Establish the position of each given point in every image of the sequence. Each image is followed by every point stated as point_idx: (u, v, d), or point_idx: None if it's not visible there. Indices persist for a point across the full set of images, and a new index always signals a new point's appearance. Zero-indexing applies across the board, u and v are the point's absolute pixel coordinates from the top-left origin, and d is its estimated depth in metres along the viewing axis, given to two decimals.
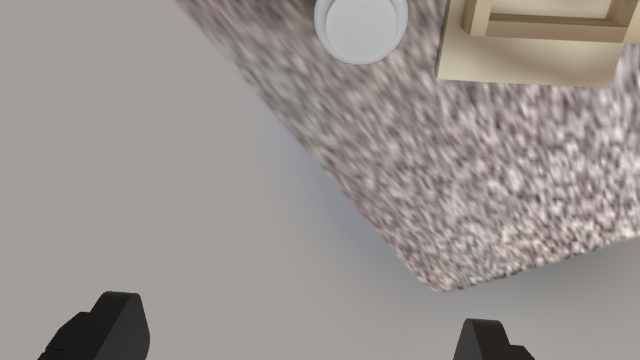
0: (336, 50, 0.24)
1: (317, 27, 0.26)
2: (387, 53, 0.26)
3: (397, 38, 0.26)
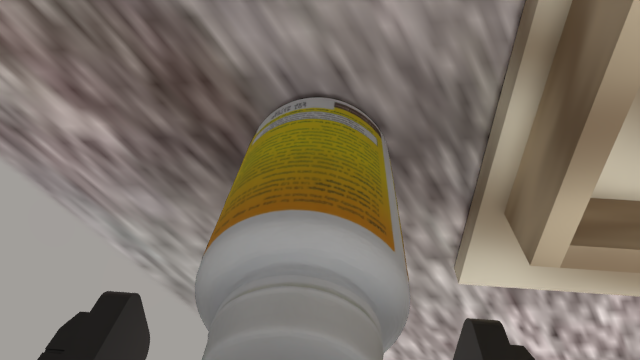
0: None
1: (204, 323, 0.11)
2: None
3: (385, 348, 0.11)
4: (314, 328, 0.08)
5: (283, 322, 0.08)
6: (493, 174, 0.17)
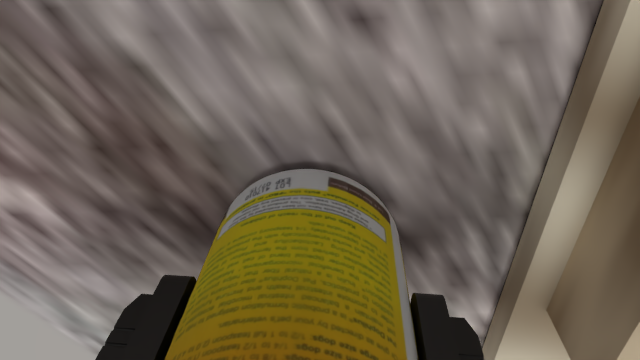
0: None
1: None
2: None
3: None
4: None
5: None
6: (535, 265, 0.13)
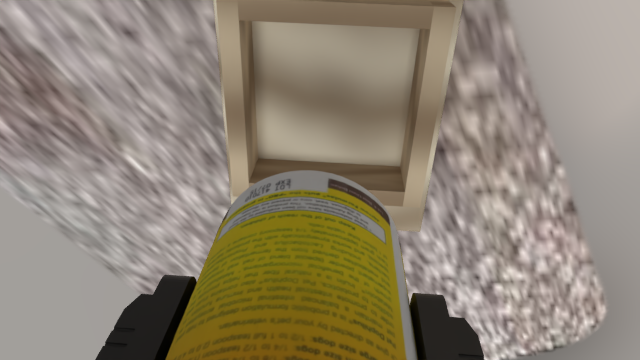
0: None
1: None
2: None
3: None
4: None
5: None
6: (228, 145, 0.28)
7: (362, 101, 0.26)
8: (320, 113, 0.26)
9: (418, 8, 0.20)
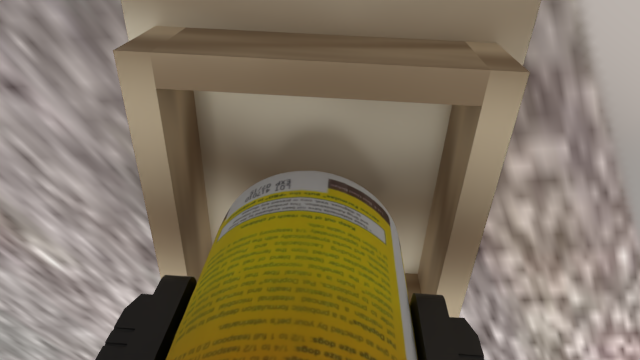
0: None
1: None
2: None
3: None
4: None
5: None
6: None
7: None
8: None
9: (463, 74, 0.11)
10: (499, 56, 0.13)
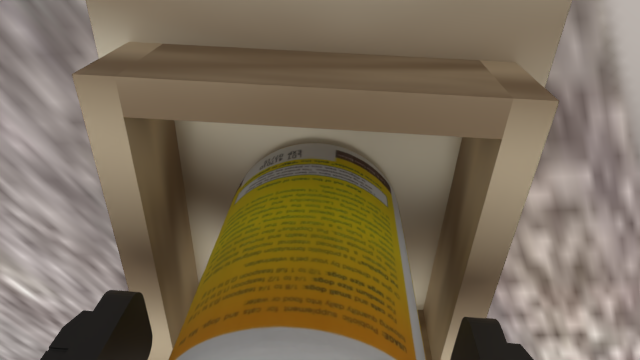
0: None
1: None
2: None
3: None
4: None
5: None
6: None
7: None
8: None
9: (481, 102, 0.10)
10: (521, 79, 0.11)
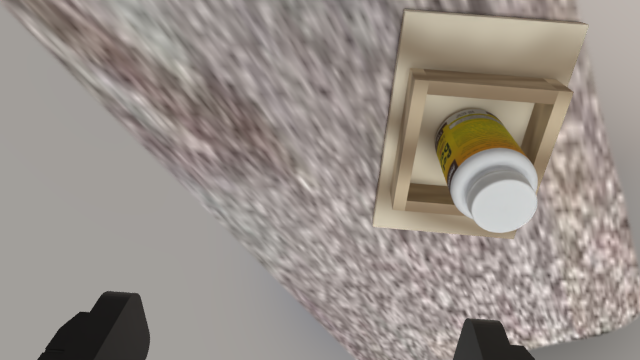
0: (478, 222, 0.28)
1: (455, 193, 0.29)
2: None
3: None
4: (520, 180, 0.26)
5: (510, 178, 0.26)
6: (382, 172, 0.38)
7: None
8: None
9: (548, 92, 0.30)
10: (559, 85, 0.32)
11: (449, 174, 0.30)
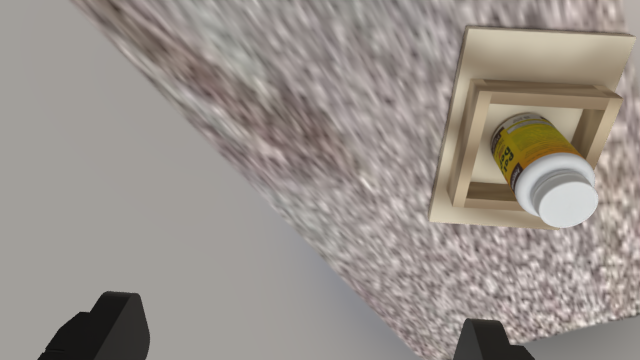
0: (544, 219, 0.31)
1: (520, 193, 0.33)
2: None
3: None
4: (584, 182, 0.30)
5: (575, 180, 0.30)
6: (440, 172, 0.41)
7: None
8: None
9: (601, 99, 0.34)
10: (609, 92, 0.35)
11: (513, 176, 0.34)
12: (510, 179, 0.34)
